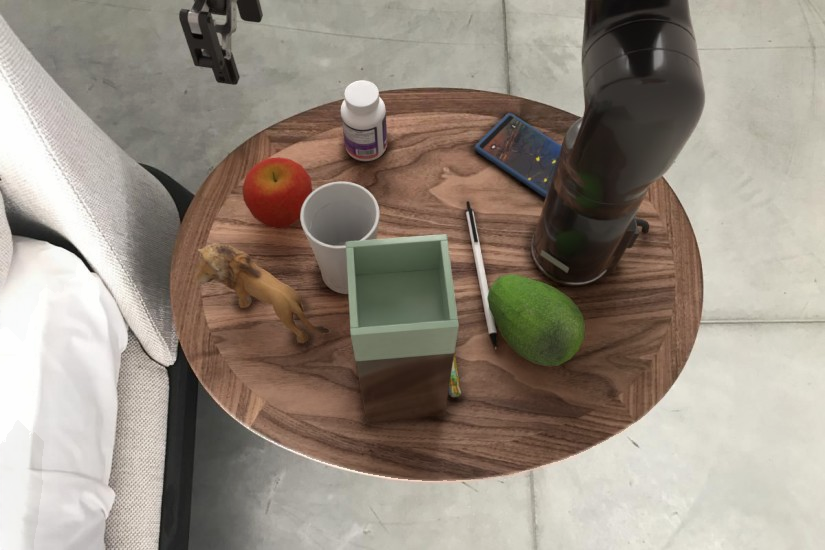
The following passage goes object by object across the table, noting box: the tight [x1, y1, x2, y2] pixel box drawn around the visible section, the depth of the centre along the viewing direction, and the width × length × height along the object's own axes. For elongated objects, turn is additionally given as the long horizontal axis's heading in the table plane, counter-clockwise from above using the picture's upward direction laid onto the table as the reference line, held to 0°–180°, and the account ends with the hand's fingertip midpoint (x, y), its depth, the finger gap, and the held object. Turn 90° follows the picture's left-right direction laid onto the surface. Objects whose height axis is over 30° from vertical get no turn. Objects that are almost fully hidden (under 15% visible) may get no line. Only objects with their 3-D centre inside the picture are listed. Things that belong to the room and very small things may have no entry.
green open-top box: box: [346, 233, 460, 423], centre depth 67 cm, size 8×8×24 cm
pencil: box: [448, 352, 462, 398], centre depth 80 cm, size 1×1×18 cm
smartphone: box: [474, 112, 562, 199], centre depth 90 cm, size 8×1×15 cm
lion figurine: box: [194, 242, 330, 344], centre depth 77 cm, size 15×5×9 cm, turn 66°
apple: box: [242, 156, 313, 230], centre depth 83 cm, size 8×8×8 cm
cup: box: [299, 181, 380, 295], centre depth 78 cm, size 8×8×12 cm
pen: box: [465, 200, 498, 350], centre depth 82 cm, size 1×19×1 cm, turn 7°
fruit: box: [487, 273, 586, 367], centre depth 76 cm, size 8×8×12 cm
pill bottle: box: [340, 79, 388, 162], centre depth 87 cm, size 5×5×10 cm
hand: (241, 49), depth 73 cm, fingers open, 8 cm apart
